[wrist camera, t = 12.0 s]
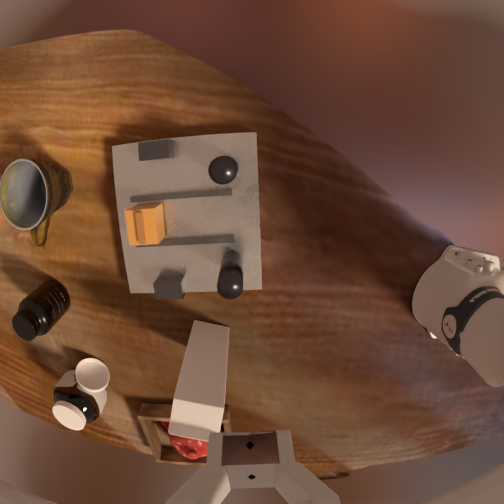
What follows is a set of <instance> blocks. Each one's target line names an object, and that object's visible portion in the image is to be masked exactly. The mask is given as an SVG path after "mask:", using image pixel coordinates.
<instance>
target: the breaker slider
mask: <svg viewBox="0 0 504 504" xmlns="http://www.w3.org/2000/svg"><path fill="white" fill-rule="evenodd" d="M125 215H126V223H127V231H128V238H129V245H130V246H134V245H152V244H159V243H160V242H161V241H162V240H163V238H164V237H165V236H166V234H165V225H164V215H163V205H162V203H159V204H147V205H135V206H133V207H131V208H129V209H127V210H125Z"/></svg>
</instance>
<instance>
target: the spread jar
mask: <svg viewBox="0 0 504 504" xmlns="http://www.w3.org/2000/svg"><path fill="white" fill-rule="evenodd" d="M109 378H110V374H109V370H108V368H107V367H106V365H105V364H104V363H103V362H101V361H100V360H98V359H95V358H86V359H83V360H82V361H80V362H79V363H78V365H77V366H76V369H72V370H70V371H67V372H66V373H65V374H64V375H63V376H62V377H61V379H60V380H59V381H58V383H57V385H56V386H55V388H54V400H55V405H54V406H53V409H52V411H53V414H54V416H55V417H56V419H57V420H58V421H59V422H60V423H61V424H63V425H64V426H66V427H68V428H70V429H73V430H82V429H83V428H84V426H85V424H86V423H89V422H92V421H94V420H96V419H97V418H98V417H99V416H100V414H101V412H102V410H103V408H104V406H105V403H106V400H107V393H106V387H107V385H108V383H109Z"/></svg>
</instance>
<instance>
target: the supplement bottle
mask: <svg viewBox="0 0 504 504" xmlns="http://www.w3.org/2000/svg"><path fill="white" fill-rule="evenodd" d="M69 306H70V297H69V294H68V292H67V290H66V289H65V287H64V286H63V285H62V284H60V283H59V282H57V281H54V280H49V281H46V282H44V283H43V284H42V285H40V286H39V287H38V288H37V289H35V290H34V291H33V292H32V293H30V294H29V295H28V296H27V297H26V298H24V299H23V300H22V301H21V303H20V305H19V309H18V312H17V313H16V314H15V315H14V317H13V319H12V325H13V328H14V330H15V332H16V333H17V335H18V336H19V337H21V338H22V339H23V340H25V341H31V340H33V339H34V338H35V337H36V336H37V335H39V336H40V335H45V334H46V333H48V332H49V330H50V329H51V328H52V327H53V326H54V325H55V324H56V323H57V322H58V321H59V319H60V318H61V317H62V316H63V315H64V314H65V313H66V312H67V310H68V309H69Z"/></svg>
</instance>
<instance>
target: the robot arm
mask: <svg viewBox="0 0 504 504" xmlns="http://www.w3.org/2000/svg"><path fill="white" fill-rule="evenodd" d="M455 252H456V254H455ZM412 310H413V314H414V317H415V319H416V320H417V321H418V323H420V324H421V325H422V326H424V327H425V328H426V329H427V331H428V334H429V335H430V336H431V337H432V338H438V339H439V340H440V341H441V342H443V343H444V344H445V345H446V346H448V347H449V348H450V349H451V350H453V351H454V353H455V354H456V355H458V356H459V357H460V358H461V359H463V360H465V361H467V362H468V363H469V364H470V365H471V366H472V367H473V368H474V369H475V370H476V372H477V373H478V374H479V375H480V376H481V377H482V378H483V380H484V381H485V382H486V383H487V384H489V385H490V386H494V387H500V386H504V274H503V273H502V272H500V264H499V259H498V257H497V256H496V255H493V254H489V253H485V252H481V251H477V250H472V249H468V248H464V247H459V246H455V245H449V246H448V247H447V248H446V249H445V250H444V252H443V254H442V255H441V257H440V258H439V259H438V260H437V261H436V262H435V263H434V264H432V265H431V266H430V267H429V268H428V269H427V270H426V271H425V273H424V274H423V275H422V277H421V278H420V280H419V282H418V284H417V286H416V288H415V291H414V294H413V299H412ZM262 487H275V488H276V489H277V491H278V492H279V493H280V494H281V495H282V496H283V498H284V499H285V500H286V501H287V502H288V503H289V504H340V500H339V496H338V495H337V494H336V493H334V492H333V491H332V490H331V489H330V488H328V487H327V486H326V485H325V484H324V483H323V482H321V481H320V480H319V479H318V478H317V477H316V476H314V475H313V474H312V473H311V472H310V471H309V470H308V469H306V468H305V467H304V466H303V465H302V464H301V463H300V462H295V458H294V452H293V445H292V439H291V433H290V430H289V429H288V430H276V431H275V430H273V431H259V432H250V433H215V432H210V434H209V441H208V451H207V462H206V465H202V466H201V467H200V468H199V470H198V471H196V473H195V474H194V475H193V476H192V477H191V478H190V479H189V480H188V481H187V482H186V483H185V484H184V485H183V486H182V487H181V488H179V489H178V491H176V492H175V494H173V495H172V496H171V497H170V498H169V499H168V500H167V501H166V504H220V503H221V502H222V501H223V499H224V498H225V497H226V495H227V494H228V493H229V491H230V489H233V488H234V489H235V488H262ZM0 504H57V503H53V502H51V501H48V500H46V499H43V498H41V497H38V496H36V495H33V494H31V493H29V492H26V491H24V490H21V489H19V488H17V487H15V486H13V485H11V484H9V483H7V482H5V481H3V480H1V479H0ZM415 504H504V463H502V464H500V465H498V466H496V467H495V468H493V469H491V470H489V471H487V472H486V473H484V474H482V475H480V476H478V477H476V478H474V479H472V480H470V481H468V482H466V483H464V484H461V485H459V486H457V487H455V488H453V489H450V490H448V491H446V492H443V493H441V494H439V495H436V496H433V497H431V498H428V499H426V500H423V501H420V502H417V503H415Z"/></svg>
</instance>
